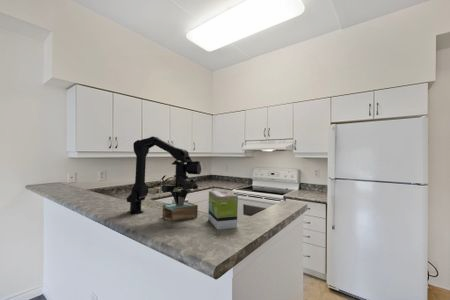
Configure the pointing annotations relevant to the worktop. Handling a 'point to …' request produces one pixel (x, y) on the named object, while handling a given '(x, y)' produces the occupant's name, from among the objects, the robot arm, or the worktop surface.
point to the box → (180, 212)
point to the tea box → (223, 209)
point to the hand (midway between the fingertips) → (179, 203)
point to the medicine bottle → (179, 196)
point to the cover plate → (179, 205)
